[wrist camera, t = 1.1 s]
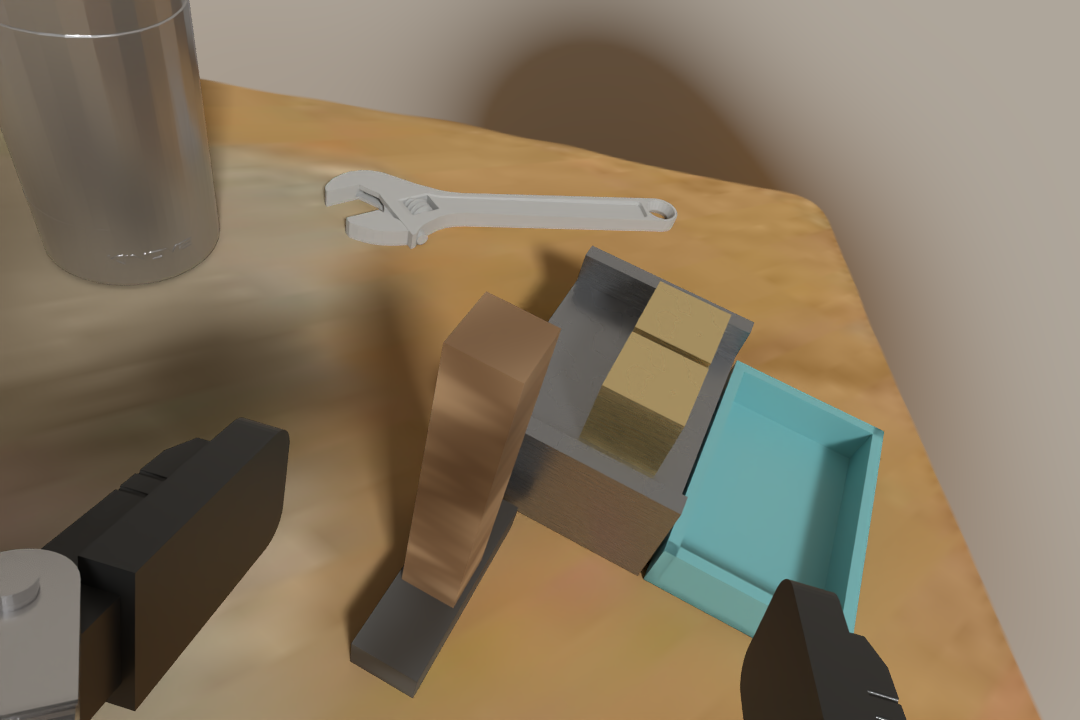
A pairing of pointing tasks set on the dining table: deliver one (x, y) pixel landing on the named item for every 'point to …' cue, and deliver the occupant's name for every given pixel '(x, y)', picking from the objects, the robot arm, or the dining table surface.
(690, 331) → the brass block
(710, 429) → the tray
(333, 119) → the dining table surface
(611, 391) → the brass block
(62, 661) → the robot arm
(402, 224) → the adjustable wrench
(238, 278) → the dining table surface
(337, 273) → the dining table surface
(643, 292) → the rail channel
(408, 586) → the wooden post on base
